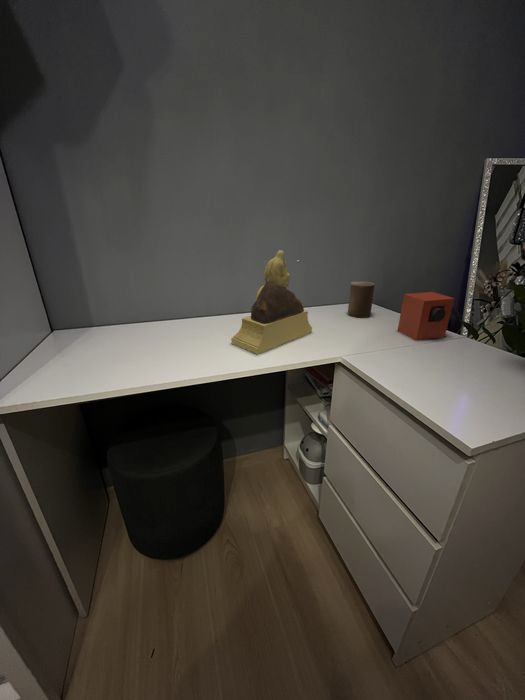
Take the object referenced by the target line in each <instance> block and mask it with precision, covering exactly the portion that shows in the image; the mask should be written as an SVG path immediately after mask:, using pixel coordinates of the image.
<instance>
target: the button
mask: <svg viewBox="0 0 525 700" xmlns="http://www.w3.org/2000/svg"><path fill="white" fill-rule="evenodd" d="M430 317H431V319H432V320H434V321H437V322H439V321H441V320H443V318H444V317H445V310H444V309H441V308H435V309H433V310H432V312H431V314H430Z"/></svg>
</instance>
